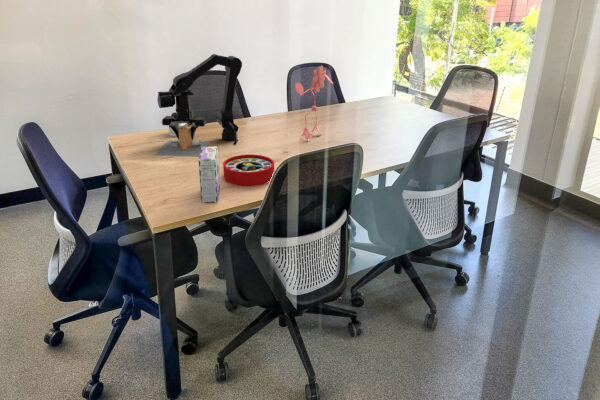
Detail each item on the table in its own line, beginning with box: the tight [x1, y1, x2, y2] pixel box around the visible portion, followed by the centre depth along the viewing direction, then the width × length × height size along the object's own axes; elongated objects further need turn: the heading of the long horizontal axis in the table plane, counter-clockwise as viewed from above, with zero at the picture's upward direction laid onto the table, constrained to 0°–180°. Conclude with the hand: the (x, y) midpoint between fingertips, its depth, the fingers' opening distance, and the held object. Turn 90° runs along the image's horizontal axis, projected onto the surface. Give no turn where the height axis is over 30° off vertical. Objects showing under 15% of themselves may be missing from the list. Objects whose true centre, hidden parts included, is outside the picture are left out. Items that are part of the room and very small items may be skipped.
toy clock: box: [222, 153, 275, 187], centre depth 191 cm, size 20×6×20 cm
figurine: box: [294, 65, 334, 140], centre depth 229 cm, size 15×26×35 cm, turn 146°
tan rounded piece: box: [178, 126, 194, 149], centre depth 218 cm, size 11×6×8 cm, turn 3°
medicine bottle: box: [168, 111, 190, 137], centre depth 233 cm, size 7×7×12 cm
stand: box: [154, 138, 212, 158], centre depth 215 cm, size 20×20×8 cm
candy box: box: [198, 145, 221, 204], centre depth 172 cm, size 14×6×16 cm, turn 5°
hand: (186, 139), depth 219 cm, fingers closed on tan rounded piece, 6 cm apart
